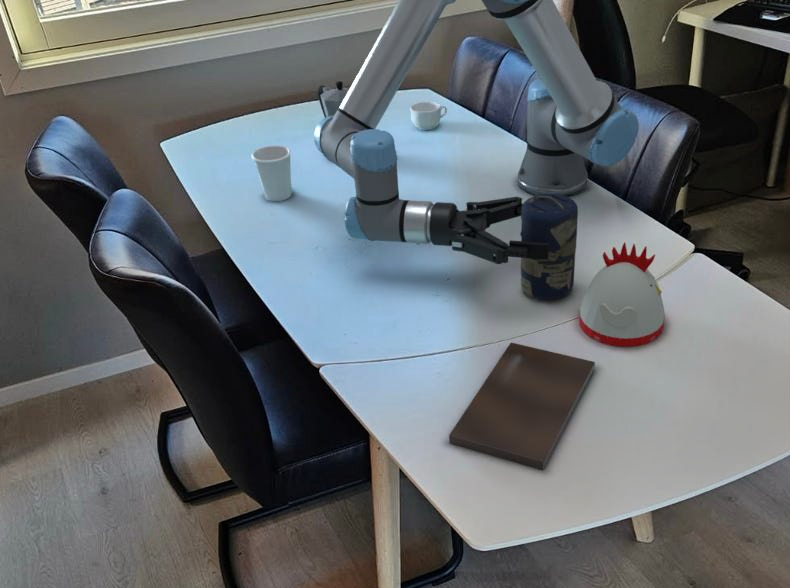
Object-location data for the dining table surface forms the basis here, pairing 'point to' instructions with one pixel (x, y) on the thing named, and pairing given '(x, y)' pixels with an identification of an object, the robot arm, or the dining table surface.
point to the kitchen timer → (623, 301)
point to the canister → (558, 228)
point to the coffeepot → (331, 98)
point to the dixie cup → (274, 171)
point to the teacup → (426, 114)
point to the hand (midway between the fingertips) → (553, 232)
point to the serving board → (523, 405)
